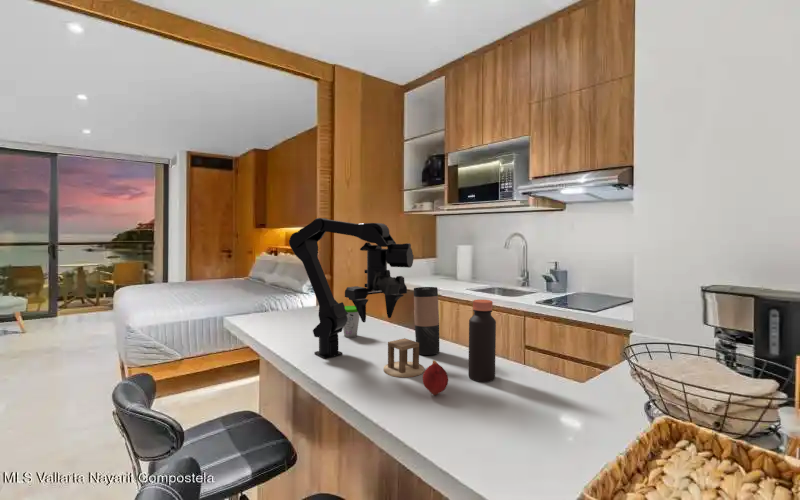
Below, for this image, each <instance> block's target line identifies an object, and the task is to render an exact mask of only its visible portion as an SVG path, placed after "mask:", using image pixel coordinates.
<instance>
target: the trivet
mask: <svg viewBox="0 0 800 500" xmlns="http://www.w3.org/2000/svg"><path fill="white" fill-rule="evenodd" d="M383 372H384V373H385V374H386V375H388V376H389V377H390V376H391V377H395V378H414V377H418V376H420V375H423V374H424V372H425V368H424V365H422V364H421V363H419V369H414V368H413V361H408V360H407V364H406V372H405V373H400V372H399V361H394V368H389V367H388V363H387V364H385V365H384V366H383Z"/></svg>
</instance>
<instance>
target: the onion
mask: <svg viewBox="0 0 800 500" xmlns="http://www.w3.org/2000/svg"><path fill="white" fill-rule="evenodd" d="M422 383H423V385H424V387H425V389H426V390H428V391H429V393H431V394H432V395H433V396H437V395H439V394H440V393H441V392H444V390H445V389H446V388H447V386H448V384H449V375H448V373H447V371H446V369H445V368H444V367H443V366H442V365H440V364H439V363H438V362H437V361H436V360H435V359H434V360H432V364H430V365H429V366H427V368H426V369H424V372H423V373H422Z"/></svg>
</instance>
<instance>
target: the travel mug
mask: <svg viewBox="0 0 800 500" xmlns="http://www.w3.org/2000/svg"><path fill="white" fill-rule="evenodd" d="M438 290H439V289H438V287H437V286H422V287H421V286H420V287H414V288H413V306H414V308H413V313H414V315H413V316H414V335H415V342H418V343H419V355H422V356H423V355H424V356H432V355H437V354H439V353H440V313H439V309H440V308H439V293H438Z"/></svg>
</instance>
